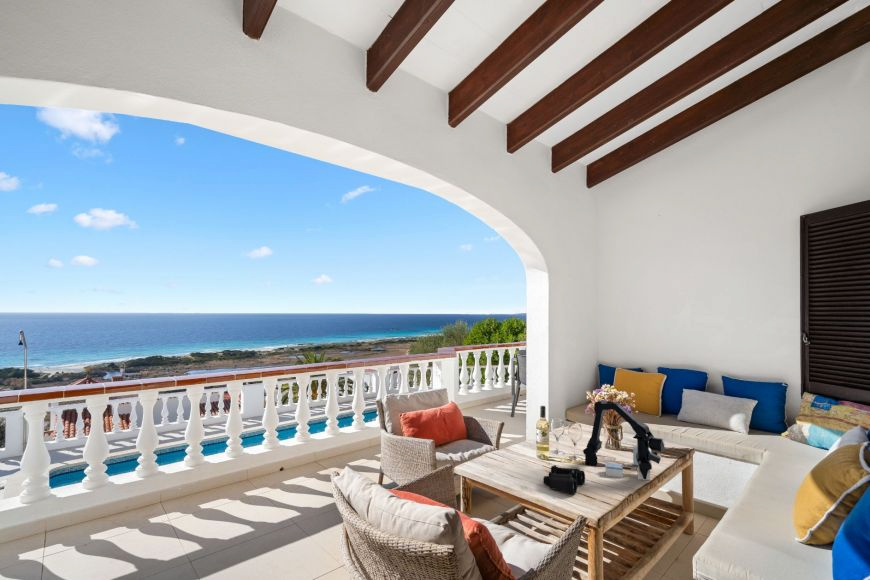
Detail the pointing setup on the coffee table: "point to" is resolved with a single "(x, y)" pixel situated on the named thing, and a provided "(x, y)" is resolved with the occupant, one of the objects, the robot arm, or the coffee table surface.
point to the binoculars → (564, 479)
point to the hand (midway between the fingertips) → (644, 476)
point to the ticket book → (614, 470)
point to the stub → (642, 476)
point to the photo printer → (635, 455)
